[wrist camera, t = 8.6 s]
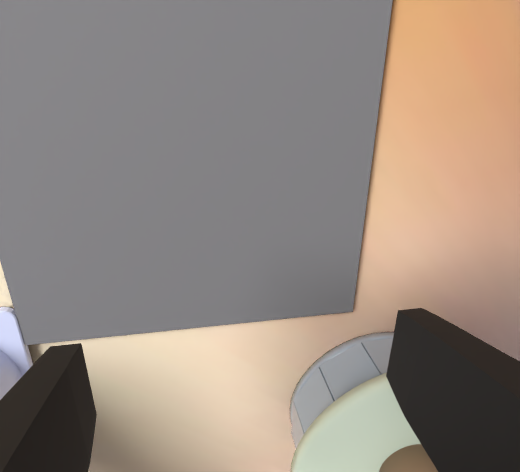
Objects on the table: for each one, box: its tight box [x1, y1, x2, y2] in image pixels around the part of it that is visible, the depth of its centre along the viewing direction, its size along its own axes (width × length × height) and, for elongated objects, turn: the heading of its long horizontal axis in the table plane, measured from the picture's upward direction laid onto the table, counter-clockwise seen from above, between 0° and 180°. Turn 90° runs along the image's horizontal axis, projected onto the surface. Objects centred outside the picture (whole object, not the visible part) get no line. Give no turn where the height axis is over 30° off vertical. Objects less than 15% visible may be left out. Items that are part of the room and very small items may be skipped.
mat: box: [0, 0, 393, 345], centre depth 17 cm, size 16×16×1 cm
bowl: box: [290, 332, 394, 448], centre depth 23 cm, size 10×10×4 cm
